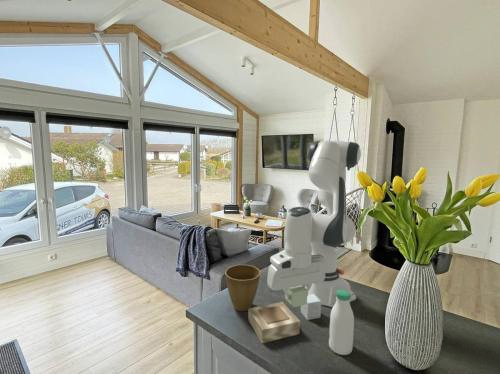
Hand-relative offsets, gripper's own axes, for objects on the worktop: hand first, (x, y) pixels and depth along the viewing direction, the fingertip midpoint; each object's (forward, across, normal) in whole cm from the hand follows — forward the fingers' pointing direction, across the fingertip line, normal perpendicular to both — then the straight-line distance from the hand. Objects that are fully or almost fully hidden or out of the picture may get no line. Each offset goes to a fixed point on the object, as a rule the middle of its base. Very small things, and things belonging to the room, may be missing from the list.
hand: (296, 297), depth 90 cm
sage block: (+2, 0, 0) cm, 2 cm away
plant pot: (+19, +9, -30) cm, 36 cm away
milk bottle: (+19, -15, +5) cm, 24 cm away
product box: (+19, -16, -15) cm, 29 cm away
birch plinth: (+18, +2, -13) cm, 23 cm away
